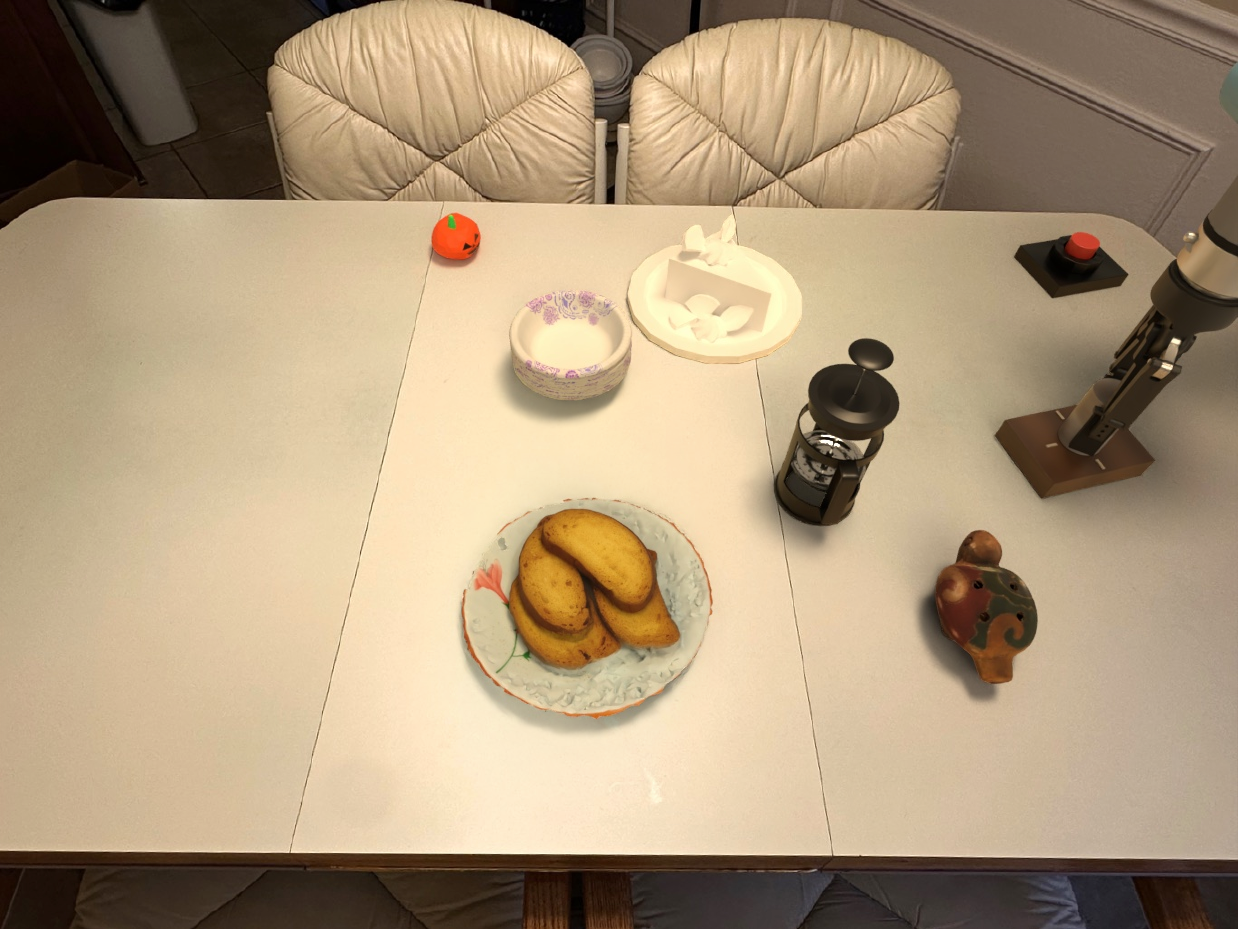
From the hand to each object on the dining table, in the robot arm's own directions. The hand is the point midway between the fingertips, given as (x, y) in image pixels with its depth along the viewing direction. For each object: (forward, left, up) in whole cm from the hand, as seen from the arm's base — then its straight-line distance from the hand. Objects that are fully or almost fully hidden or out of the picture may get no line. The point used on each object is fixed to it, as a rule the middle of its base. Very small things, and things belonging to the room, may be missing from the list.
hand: (1084, 432), depth 88 cm
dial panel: (0, 0, -4) cm, 4 cm away
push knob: (-22, -31, -1) cm, 38 cm away
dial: (0, 0, -1) cm, 1 cm away
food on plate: (+62, +5, -4) cm, 62 cm away
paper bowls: (+56, -28, -4) cm, 63 cm away
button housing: (-22, -31, -4) cm, 38 cm away
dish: (+33, -37, -4) cm, 50 cm away
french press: (+33, -2, -4) cm, 33 cm away
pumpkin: (+67, -57, -4) cm, 88 cm away
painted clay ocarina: (+24, +17, -4) cm, 30 cm away
